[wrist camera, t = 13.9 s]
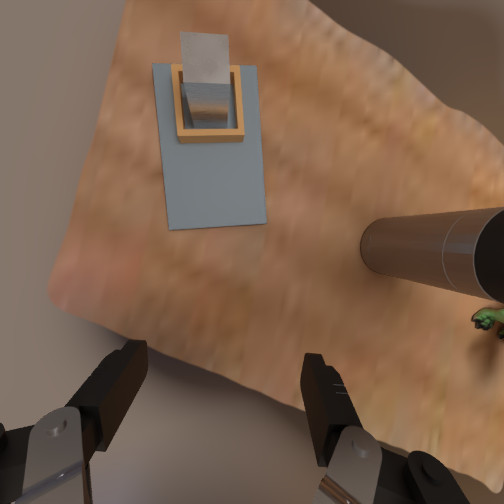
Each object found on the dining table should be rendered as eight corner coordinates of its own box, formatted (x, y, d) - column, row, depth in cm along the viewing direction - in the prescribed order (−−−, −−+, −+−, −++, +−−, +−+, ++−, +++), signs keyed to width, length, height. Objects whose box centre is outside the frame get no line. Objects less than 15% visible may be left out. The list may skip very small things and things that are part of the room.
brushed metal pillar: (225, 95, 33) (227, 34, 23) (227, 128, 33) (230, 83, 23) (192, 94, 32) (180, 31, 22) (194, 128, 32) (183, 82, 22)
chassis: (255, 70, 34) (259, 52, 30) (265, 223, 36) (270, 222, 32) (154, 68, 32) (146, 48, 29) (170, 230, 34) (165, 229, 30)
